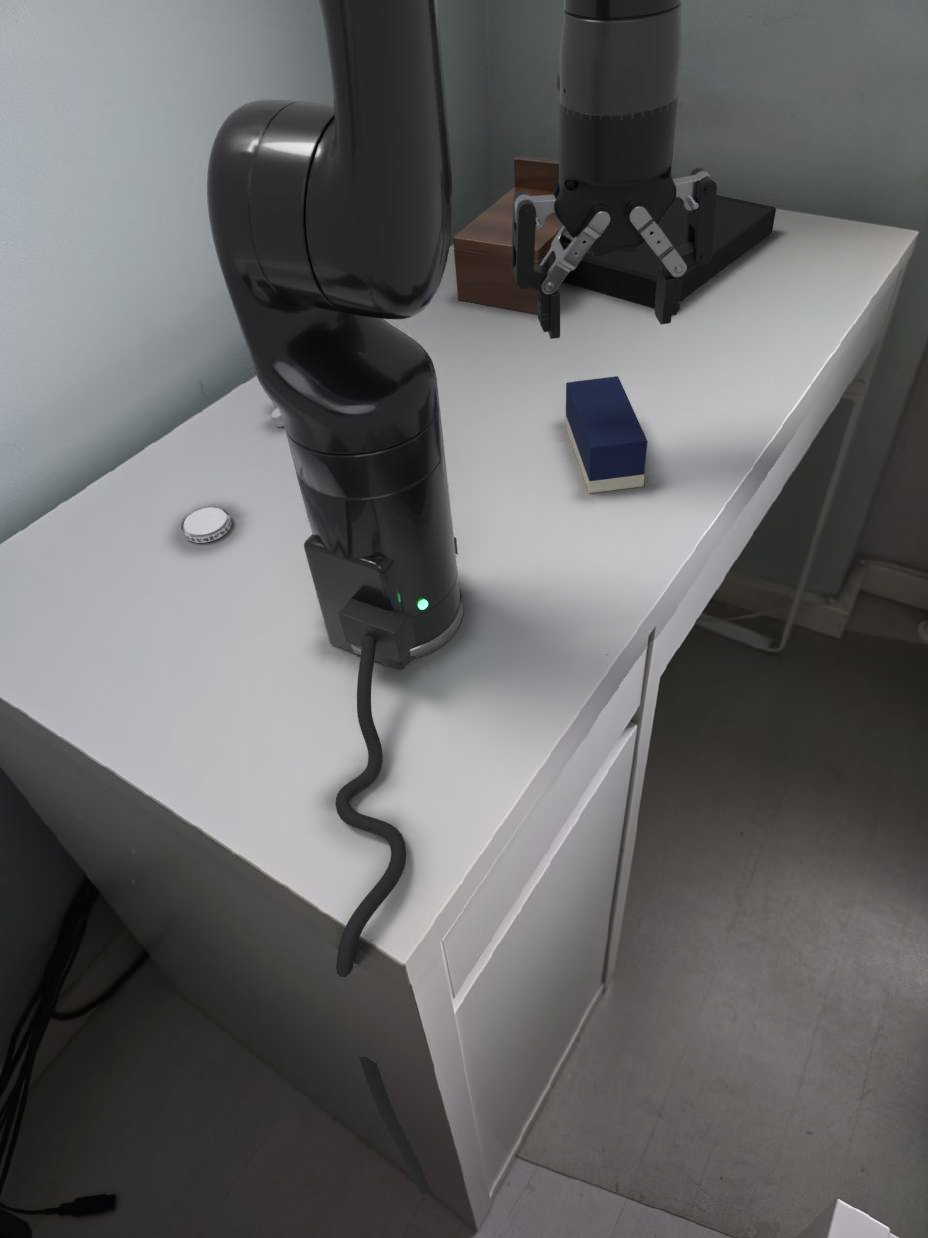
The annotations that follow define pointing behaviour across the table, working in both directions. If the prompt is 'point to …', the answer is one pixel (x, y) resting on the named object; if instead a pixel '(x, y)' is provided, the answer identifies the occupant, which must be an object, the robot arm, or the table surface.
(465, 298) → the shelf
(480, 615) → the table surface
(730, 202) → the external hard drive
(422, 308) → the robot arm
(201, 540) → the white bottle cap
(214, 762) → the table surface
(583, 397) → the whiteboard eraser
